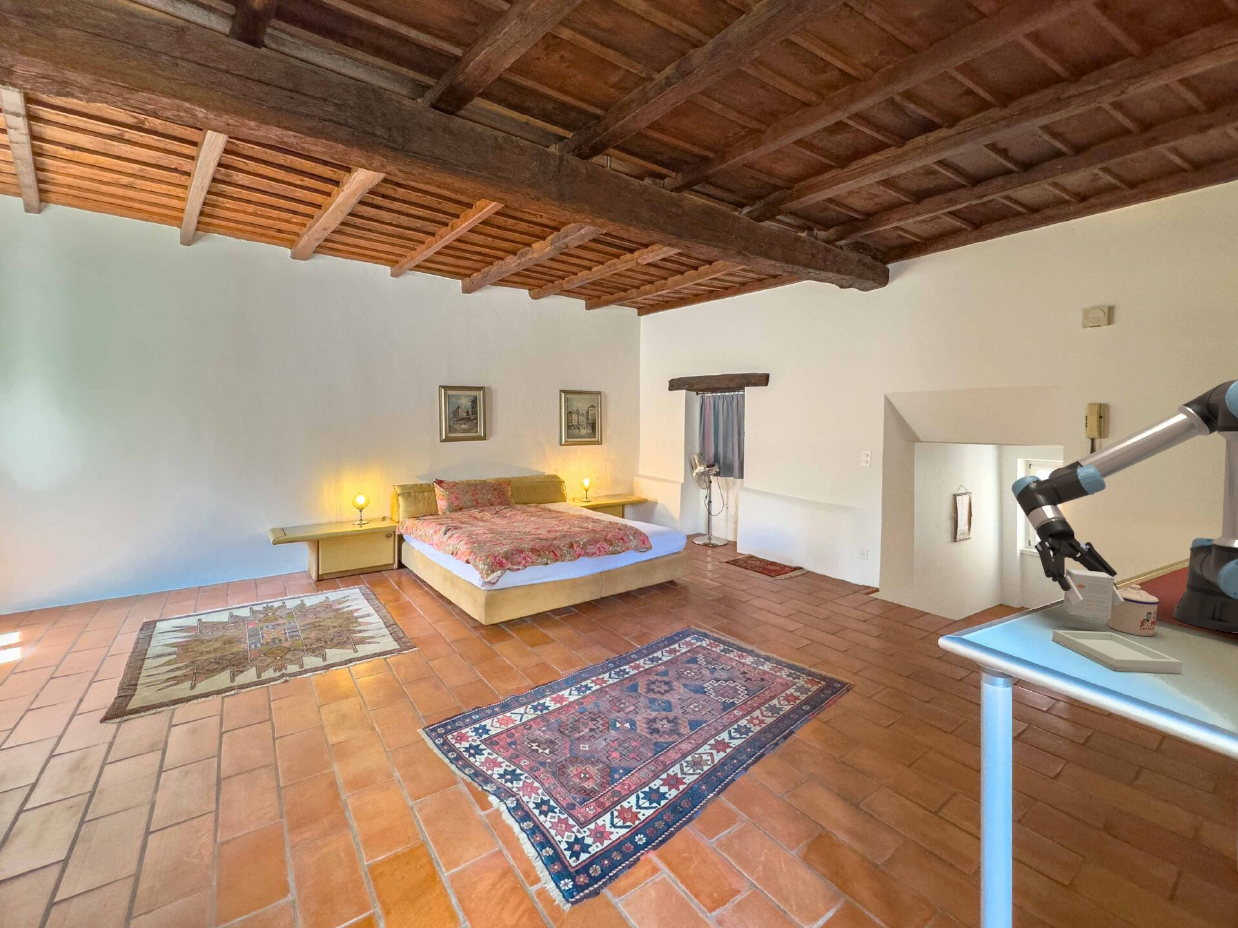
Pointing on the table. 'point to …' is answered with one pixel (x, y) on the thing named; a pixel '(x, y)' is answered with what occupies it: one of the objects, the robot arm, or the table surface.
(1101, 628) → the table surface
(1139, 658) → the sage tray
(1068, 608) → the small box
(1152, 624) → the teacup with lid
